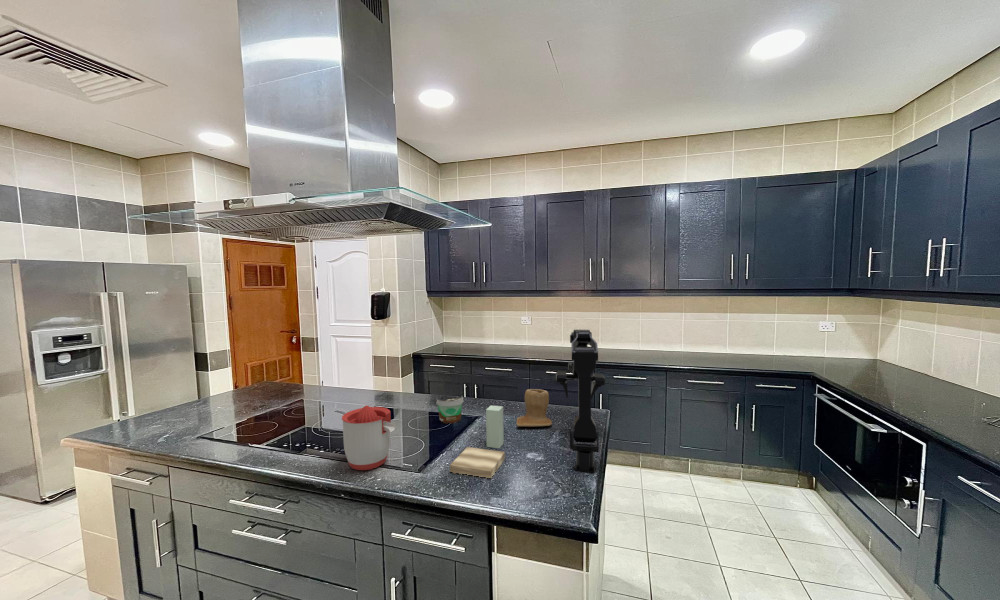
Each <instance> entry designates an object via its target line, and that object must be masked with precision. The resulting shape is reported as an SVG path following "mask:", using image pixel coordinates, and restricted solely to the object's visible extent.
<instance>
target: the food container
mask: <svg viewBox="0 0 1000 600" xmlns="http://www.w3.org/2000/svg"><path fill="white" fill-rule="evenodd" d="M463 403H464V397H463V395H461V396H460V397H458V398H456V397H455V398H447V399H445V400H440V399H438V398H437V400H436V403H435V404H436V405H437V409H438V415H439V422H440V421H441V422H440V423H442V422H443V423H442V424H448V423H450V424H456V423H459V422H460V421H461V420H462V411H463V410H462V409H463ZM458 421H459V422H458ZM455 422H456V423H455Z"/></svg>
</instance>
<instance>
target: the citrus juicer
mask: <svg viewBox="0 0 1000 600" xmlns="http://www.w3.org/2000/svg"><path fill="white" fill-rule="evenodd" d="M391 415H392V414H391V410H390V409H388V408H387V407H382V406H369V405H364V406H363V407H361V408H357V409H353V410H349V411H347V412H345V414H343V415H342V416H341V420H342V435H343V437H342V438H343V449H344V453H345V458H346V460H347V463H348V465H349V467H350V468H351V469H353V470H356V471H368V470H374V469H373V468H378V467H380V466H382V465H384V463H386V461H387V458H388V455H389V451H390V446H391V433H393V432H394V431H395V429H396V425H395V423H392V421H391V420H392V419H391Z"/></svg>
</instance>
